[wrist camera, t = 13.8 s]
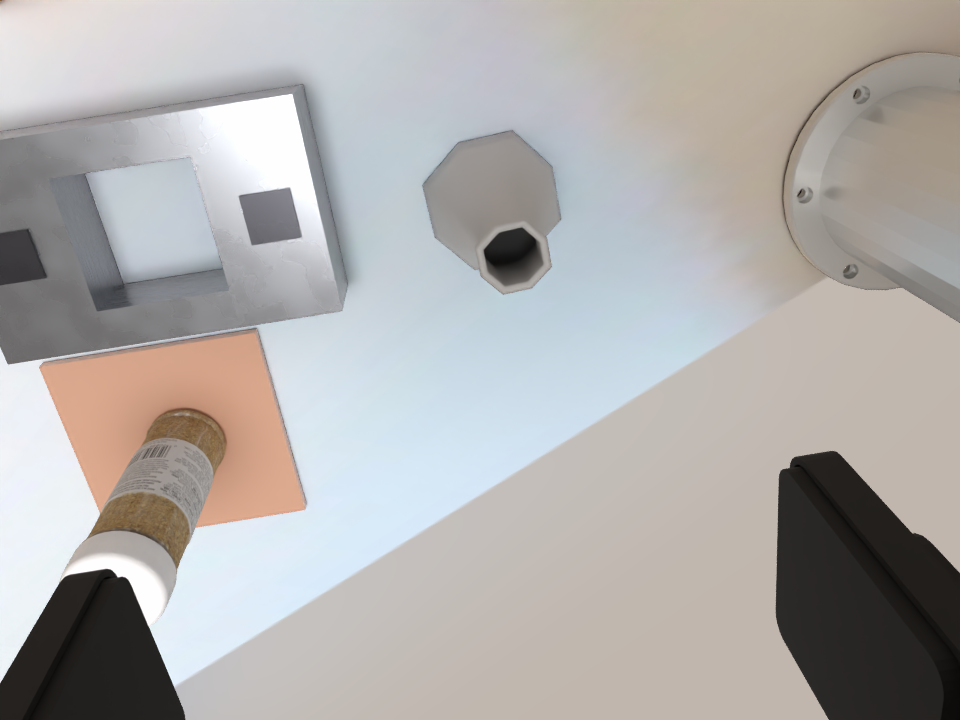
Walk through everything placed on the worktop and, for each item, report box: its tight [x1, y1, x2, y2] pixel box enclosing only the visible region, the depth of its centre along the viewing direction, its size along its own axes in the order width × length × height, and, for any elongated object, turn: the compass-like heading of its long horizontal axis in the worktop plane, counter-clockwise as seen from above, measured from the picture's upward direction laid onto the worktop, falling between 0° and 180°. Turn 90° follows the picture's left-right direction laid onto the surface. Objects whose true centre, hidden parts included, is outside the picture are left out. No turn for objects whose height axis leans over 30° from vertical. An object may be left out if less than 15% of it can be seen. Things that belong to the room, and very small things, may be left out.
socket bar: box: [0, 84, 348, 364], centre depth 40 cm, size 17×11×4 cm, turn 98°
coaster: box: [39, 329, 306, 528], centre depth 47 cm, size 12×12×1 cm
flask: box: [422, 131, 561, 295], centre depth 38 cm, size 7×7×10 cm
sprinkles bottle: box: [59, 409, 226, 626], centre depth 41 cm, size 5×5×14 cm
